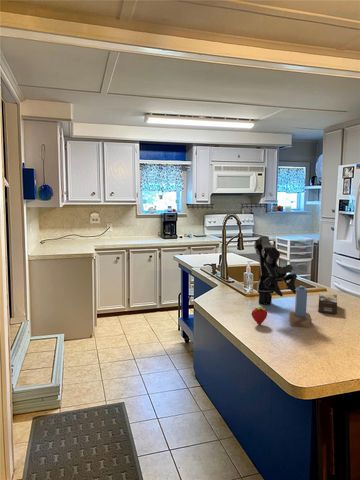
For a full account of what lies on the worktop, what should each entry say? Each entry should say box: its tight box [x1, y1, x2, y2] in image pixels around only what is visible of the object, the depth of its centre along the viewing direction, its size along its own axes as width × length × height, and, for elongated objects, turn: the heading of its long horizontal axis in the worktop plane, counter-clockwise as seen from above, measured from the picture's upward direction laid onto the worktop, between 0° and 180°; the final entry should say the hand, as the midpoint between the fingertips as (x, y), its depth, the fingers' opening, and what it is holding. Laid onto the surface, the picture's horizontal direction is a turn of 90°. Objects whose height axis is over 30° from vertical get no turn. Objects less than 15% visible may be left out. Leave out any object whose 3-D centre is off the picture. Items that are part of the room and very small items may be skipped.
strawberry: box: [251, 306, 268, 326], centre depth 171 cm, size 6×8×10 cm
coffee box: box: [317, 292, 338, 315], centre depth 195 cm, size 9×6×16 cm
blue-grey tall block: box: [294, 285, 308, 317], centre depth 172 cm, size 4×4×14 cm
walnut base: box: [289, 311, 312, 328], centre depth 174 cm, size 9×9×4 cm
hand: (288, 294), depth 179 cm, fingers open, 9 cm apart
